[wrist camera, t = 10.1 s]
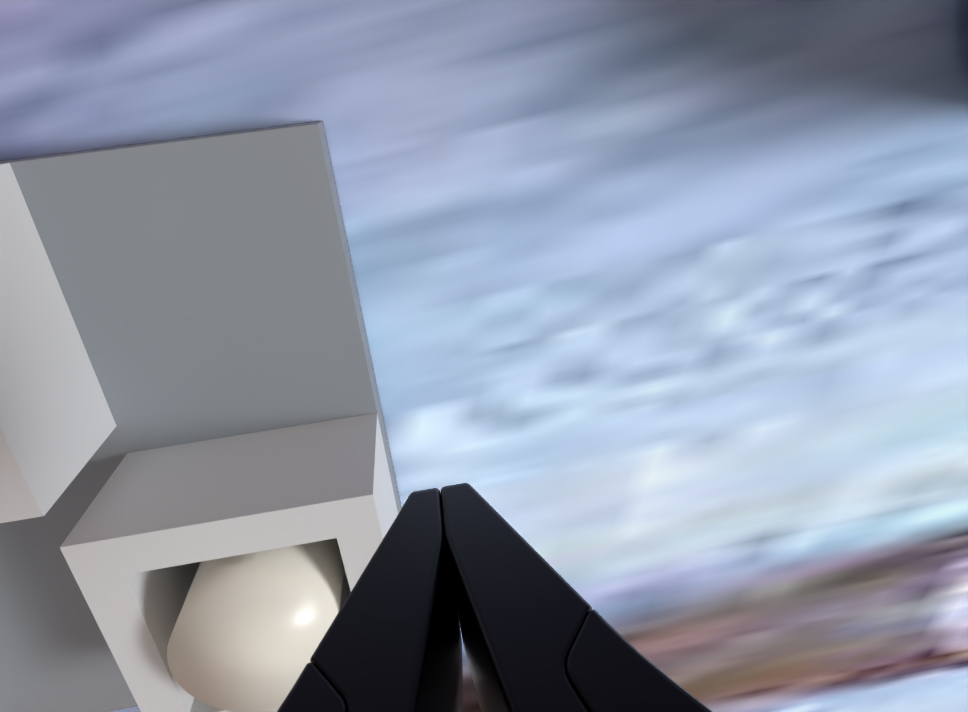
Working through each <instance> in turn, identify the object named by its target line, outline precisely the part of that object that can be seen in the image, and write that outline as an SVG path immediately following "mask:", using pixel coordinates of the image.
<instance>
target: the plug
mask: <svg viewBox="0 0 968 712" xmlns="http://www.w3.org/2000/svg"><path fill="white" fill-rule="evenodd" d="M343 574H344V564H343V560H342V556H341V553H340V549H339V545H338V541H337V538H334V539H328V540H323V541H317V542H311V543H305V544H300V545H294V546H288V547H282V548H277V549H271V550H265V551H259V552H254V553H248V554H242V555H236V556H231V557H225V558H219V559H213V560H208V561H202V562H200V564H199V567H198V569H197V572H196V574H195V577H194V579H193V582H192V584H191V587H190V589H189V592H188V594H187V597H186V599H185V602H184V604H183V607H182V609H181V612H180V614H179V616H178V619H177V621H176V624H175V626H174V629H173V631H172V634H171V636H170V639H169V642H168V646H167V661H168V666H169V669H170V671H171V673H172V675H173V677H174V679H175V680H176V681H177V683H178V684H179V685H180V686H181V687H182V688H183V689H184V690H185V691H186V692H187V693H189V694H190V695H191V696H193V697H194V698H196V699H198V700H199V701H201V702H203V703H206V704H208V705H210V706H213V707H216V708H219V709H223V710H228V711H234V712H267V711H273V710H277V709H279V707H280V706H281V704H282V703H283V701H284V700H285V698H286V697H287V695H288V693H289V692H290V690H291V689H292V687H293V686H294V684H295V682H296V681H297V679H298V678H299V676H300V674H301V673H302V671H303V669H304V668H305V666H306V664H307V663H311V662H310V659H311V657H312V655H313V653H314V652H315V650H316V648H317V647H318V645H319V643H320V642H321V640H322V639H323V637H324V635H325V634H326V632H327V630H328V629H329V627H330V625H331V624H332V622H333V620H334V619H335V617H336V616H337V614H338V612H339V611H340V603H341V593H342V583H343Z"/></svg>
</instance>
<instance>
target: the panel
mask: <svg viewBox="0 0 968 712" xmlns="http://www.w3.org/2000/svg"><path fill="white" fill-rule="evenodd" d="M401 509H402V507H401V502H400V497H399V492H398V487H397V482H396V477H395V472H394V467H393V463H392V458H391V453H390V448H389V443H388V438H387V433H386V428H385V423H384V418H383V413H382V408H381V404H380V399H379V394H378V389H377V384H376V379H375V374H374V369H373V364H372V359H371V354H370V349H369V345H368V340H367V335H366V330H365V325H364V320H363V315H362V310H361V305H360V300H359V295H358V291H357V286H356V281H355V276H354V271H353V266H352V261H351V256H350V251H349V246H348V241H347V236H346V232H345V227H344V222H343V217H342V212H341V207H340V202H339V197H338V192H337V187H336V182H335V177H334V173H333V168H332V163H331V158H330V153H329V148H328V143H327V138H326V133H325V128H324V123H323V121H317V122H309V123H301V124H293V125H285V126H277V127H269V128H261V129H253V130H245V131H237V132H229V133H222V134H214V135H206V136H198V137H190V138H182V139H174V140H166V141H158V142H150V143H142V144H134V145H126V146H118V147H110V148H102V149H94V150H86V151H79V152H71V153H63V154H55V155H47V156H39V157H31V158H23V159H15V160H7V161H0V712H109V711H114V710H119V709H125V708H130V707H135V706H138V707H139V709H140V711H141V712H234V711H228V710H223V709H219V708H216V707H213V706H210V705H208V704H206V703H203V702H201V701H199V700H198V699H196V698H194V697H193V696H191V695H190V694H189V693H187V692H186V691H185V690H184V689H183V688H182V687H181V686H180V685H179V684H178V683H177V681H176V680H175V679H174V677H173V675H172V673H171V671H170V669H169V666H168V661H167V646H168V642H169V639H170V636H171V634H172V631H173V629H174V626H175V624H176V621H177V619H178V616H179V614H180V612H181V609H182V607H183V604H184V602H185V599H186V597H187V594H188V592H189V589H190V587H191V584H192V582H193V579H194V577H195V574H196V572H197V569H198V567H199V564H200V562H202V561H208V560H213V559H219V558H225V557H231V556H236V555H242V554H248V553H254V552H259V551H265V550H271V549H277V548H282V547H288V546H294V545H300V544H305V543H311V542H317V541H323V540H328V539H334V538H337V541H338V545H339V549H340V553H341V556H342V560H343V564H344V574H343V583H342V593H341V603H340V609H341V607H342V606H343V604H344V602H345V601H346V599H347V597H348V596H349V594H350V593H351V591H352V589H353V588H354V586H355V584H356V583H357V581H358V579H359V578H360V576H361V574H362V573H363V571H364V570H365V568H366V566H367V565H368V563H369V561H370V560H371V558H372V556H373V555H374V553H375V551H376V550H377V548H378V547H379V545H380V543H381V542H382V540H383V538H384V537H385V535H386V533H387V532H388V530H389V528H390V527H391V525H392V524H393V522H394V520H395V519H396V517H397V515H398V514H399V512H400V510H401ZM277 710H278V709H277ZM277 710H273V711H267V712H277Z"/></svg>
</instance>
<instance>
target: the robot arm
mask: <svg viewBox="0 0 968 712" xmlns="http://www.w3.org/2000/svg"><path fill="white" fill-rule="evenodd" d="M459 621H460V622H459ZM460 627H461V631H460ZM461 633H462V639H463V644H464V648H465V652H466V657H467V661H468V664H469V668H470V672H471V676H472V679H473V683H474V687H475V691H476V694H477V698H478V702H479V706H480V709H481V712H712V711H711V710H710V709H708V708H707V707H706V706H705V705H703V704H702V703H701V702H700V701H698V700H697V699H696V698H694V697H693V696H692V695H691V694H689V693H688V692H687V691H685V690H684V689H683V688H682V687H680V686H679V685H678V684H677V683H675V682H674V681H673V680H672V679H670V678H669V677H668V676H667V675H666V674H664V673H663V672H662V671H661V670H659V669H658V668H657V667H656V666H655V665H653V664H652V663H651V662H650V661H648V660H647V659H646V658H645V657H644V656H642V655H641V654H640V653H639V652H638V651H637V650H636V649H635V648H634V647H633V646H632V645H630V644H629V643H628V642H627V641H626V640H625V639H624V638H623V637H622V636H621V635H620V634H619V633H618V632H617V631H615V630H614V629H613V628H612V627H611V626H610V625H609V624H608V623H607V622H606V621H605V620H604V619H603V618H602V617H601V616H600V615H599V613H598V612H597V611H595V610H592V608H591V606H590V605H589V604H588V603H587V602H586V601H585V600H584V599H583V598H582V597H581V596H580V595H579V594H578V593H577V592H576V591H575V590H574V589H573V588H572V587H571V586H570V585H569V584H568V583H567V582H566V581H565V580H564V579H563V578H562V577H561V576H560V575H559V574H558V573H557V572H556V571H555V570H554V569H553V568H552V567H551V566H550V565H549V564H548V563H547V562H546V561H545V560H544V559H543V558H542V557H541V556H540V555H539V554H538V553H537V552H536V551H535V550H534V549H533V548H532V547H531V546H530V545H529V544H528V543H527V542H526V541H525V540H524V539H523V538H522V537H521V536H520V535H519V534H518V533H517V532H516V531H515V530H514V529H513V528H512V527H511V526H510V525H509V524H508V523H507V522H506V521H505V520H504V519H503V518H502V517H501V516H500V515H499V514H498V513H497V512H496V511H495V510H494V509H493V508H492V506H491V505H490V504H489V503H488V502H487V501H486V500H485V499H484V498H483V497H482V496H481V495H480V494H479V493H478V492H477V491H476V490H475V489H474V488H473V487H472V486H471V485H469V484H467V483H462V484H456V485H450V486H445V487H443V488H442V489H441V493H440V491H439V489H437V488H433V489H427V490H421V491H415V492H413V493H411V494H410V496H409V497H408V499H407V501H406V502H405V504H404V505H403V507H402V509H401V510H400V512H399V514H398V515H397V517H396V519H395V520H394V522H393V524H392V525H391V527H390V528H389V530H388V532H387V533H386V535H385V537H384V538H383V540H382V542H381V543H380V545H379V547H378V548H377V550H376V551H375V553H374V555H373V556H372V558H371V560H370V561H369V563H368V565H367V566H366V568H365V570H364V571H363V573H362V574H361V576H360V578H359V579H358V581H357V583H356V584H355V586H354V588H353V589H352V591H351V593H350V594H349V596H348V597H347V599H346V601H345V602H344V604H343V606H342V607H341V609H340V611H339V612H338V614H337V616H336V617H335V619H334V620H333V622H332V624H331V625H330V627H329V629H328V630H327V632H326V634H325V635H324V637H323V639H322V640H321V642H320V643H319V645H318V647H317V648H316V650H315V652H314V653H313V655H312V657H311V659H310V662H311V663H307V664H306V666H305V668H304V669H303V671H302V673H301V674H300V676H299V678H298V679H297V681H296V682H295V684H294V686H293V687H292V689H291V690H290V692H289V693H288V695H287V697H286V698H285V700H284V701H283V703H282V704H281V706H280V707H279V709H278V710H277V712H463V694H462V641H461Z"/></svg>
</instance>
